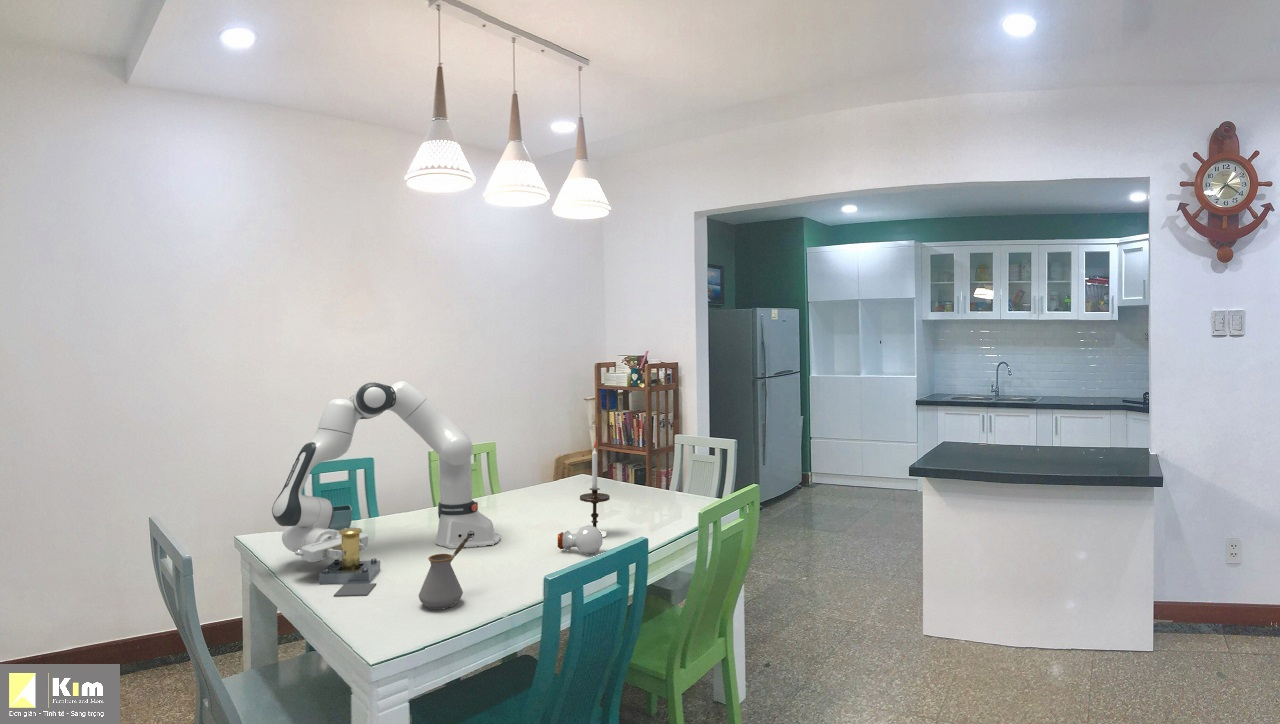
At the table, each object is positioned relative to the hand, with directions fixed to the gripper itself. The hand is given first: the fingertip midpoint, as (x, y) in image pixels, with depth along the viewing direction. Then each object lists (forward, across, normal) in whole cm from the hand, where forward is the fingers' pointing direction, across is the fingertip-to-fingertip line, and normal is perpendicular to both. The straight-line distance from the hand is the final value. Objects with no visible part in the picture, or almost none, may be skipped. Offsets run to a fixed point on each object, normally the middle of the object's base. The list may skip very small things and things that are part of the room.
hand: (352, 550), depth 213 cm
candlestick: (+37, +75, +8) cm, 84 cm away
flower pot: (-46, +30, +8) cm, 56 cm away
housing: (-1, 0, +8) cm, 8 cm away
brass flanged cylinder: (-1, 0, +8) cm, 8 cm away
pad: (+10, -7, +8) cm, 15 cm away
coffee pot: (+38, +2, +8) cm, 39 cm away
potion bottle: (+45, +55, +8) cm, 71 cm away
